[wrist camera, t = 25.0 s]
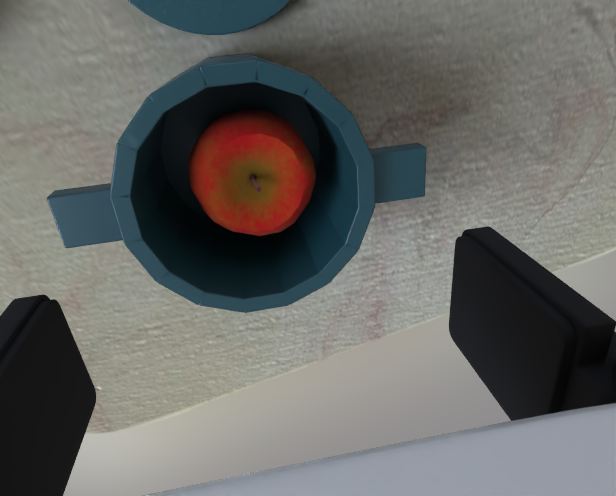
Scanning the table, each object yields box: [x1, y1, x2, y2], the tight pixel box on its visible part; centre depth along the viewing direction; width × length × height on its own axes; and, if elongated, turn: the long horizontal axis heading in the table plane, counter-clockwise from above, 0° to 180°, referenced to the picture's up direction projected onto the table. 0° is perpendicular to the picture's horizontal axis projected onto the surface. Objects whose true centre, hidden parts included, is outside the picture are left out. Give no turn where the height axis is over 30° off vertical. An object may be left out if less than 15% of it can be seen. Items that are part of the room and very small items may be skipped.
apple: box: [188, 110, 316, 236], centre depth 24 cm, size 6×6×8 cm
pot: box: [47, 54, 426, 313], centre depth 23 cm, size 11×17×10 cm
